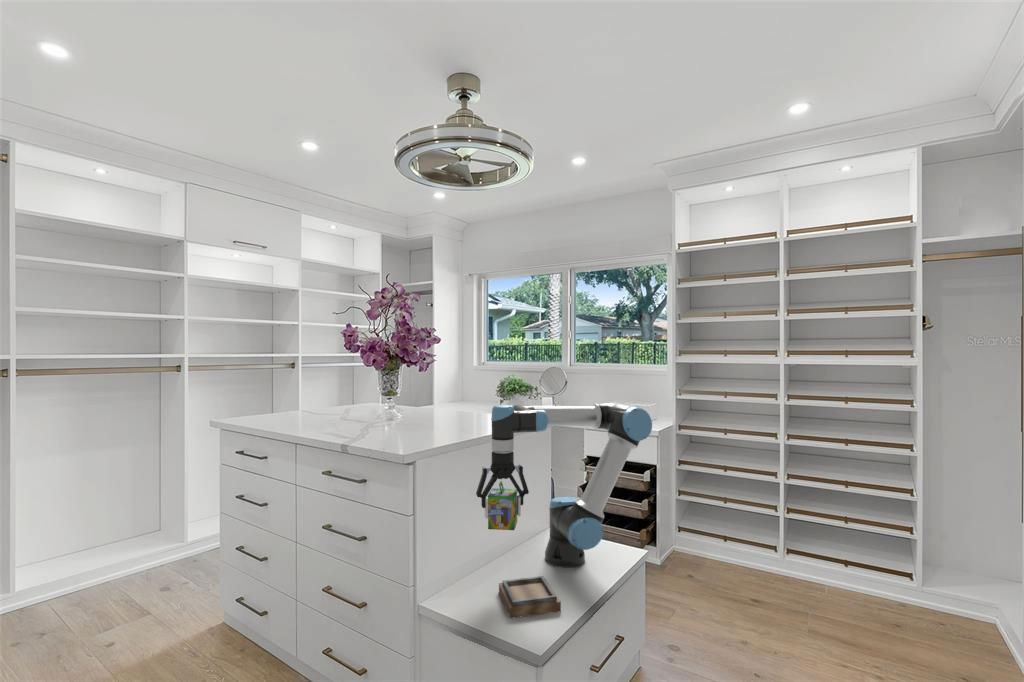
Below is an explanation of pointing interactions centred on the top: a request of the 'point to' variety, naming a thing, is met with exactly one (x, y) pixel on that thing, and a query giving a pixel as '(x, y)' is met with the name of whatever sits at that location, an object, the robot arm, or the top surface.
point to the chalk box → (502, 508)
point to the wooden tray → (528, 596)
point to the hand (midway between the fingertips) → (502, 515)
